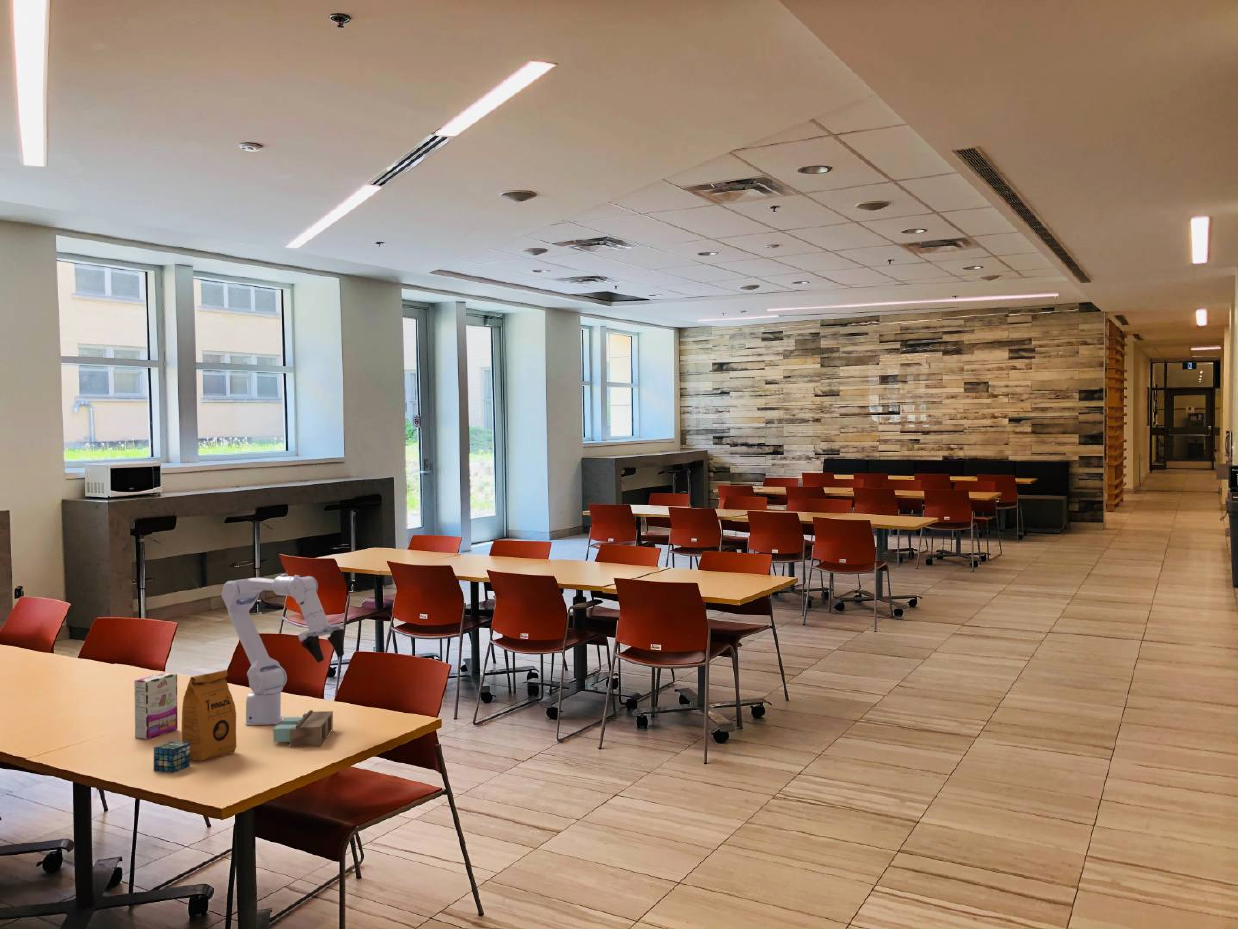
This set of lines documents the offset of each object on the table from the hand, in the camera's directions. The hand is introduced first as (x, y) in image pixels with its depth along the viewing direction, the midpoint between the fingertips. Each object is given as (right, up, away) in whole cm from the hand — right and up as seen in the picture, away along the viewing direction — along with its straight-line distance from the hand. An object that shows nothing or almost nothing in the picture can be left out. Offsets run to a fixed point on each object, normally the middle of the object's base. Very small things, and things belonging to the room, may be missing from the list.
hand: (331, 658), depth 276 cm
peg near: (-8, -21, -11) cm, 25 cm away
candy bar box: (-49, -21, -3) cm, 53 cm away
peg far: (-9, -21, -3) cm, 23 cm away
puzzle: (-30, -21, -34) cm, 50 cm away
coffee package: (-25, -21, -23) cm, 40 cm away
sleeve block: (-3, -21, -6) cm, 22 cm away
